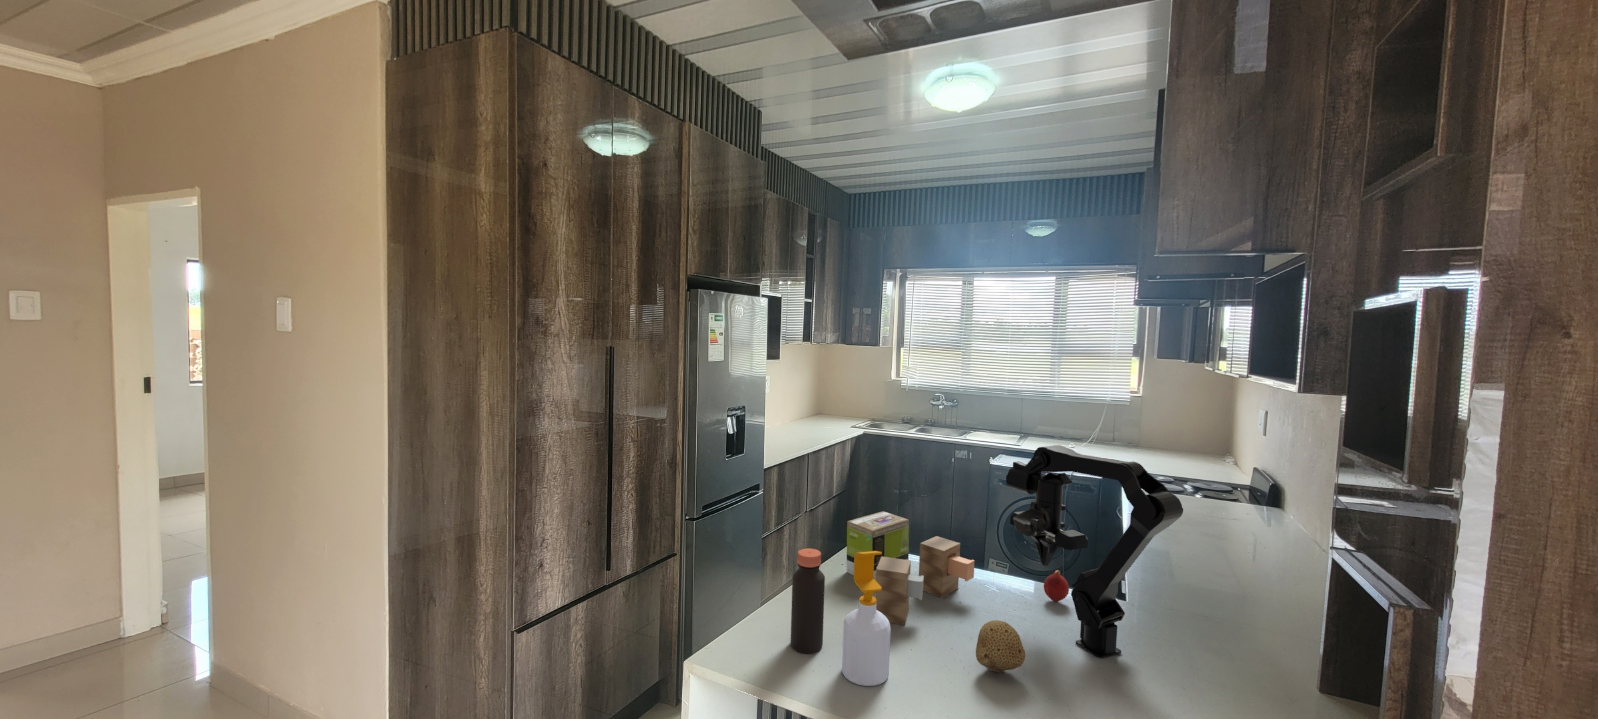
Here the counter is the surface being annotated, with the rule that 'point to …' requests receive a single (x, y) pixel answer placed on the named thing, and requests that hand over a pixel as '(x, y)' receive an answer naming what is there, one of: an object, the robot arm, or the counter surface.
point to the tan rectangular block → (960, 567)
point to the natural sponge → (999, 647)
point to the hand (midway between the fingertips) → (1045, 565)
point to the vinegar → (807, 603)
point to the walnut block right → (938, 565)
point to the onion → (1056, 587)
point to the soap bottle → (866, 630)
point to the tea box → (877, 537)
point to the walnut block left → (893, 589)
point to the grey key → (915, 586)
